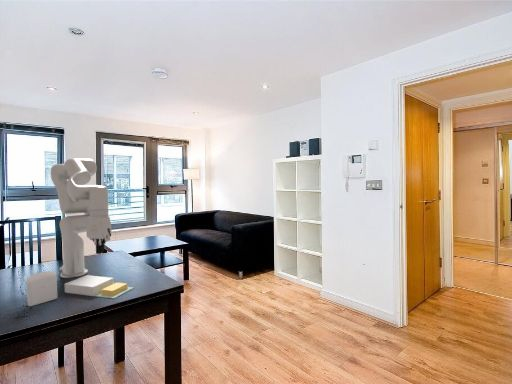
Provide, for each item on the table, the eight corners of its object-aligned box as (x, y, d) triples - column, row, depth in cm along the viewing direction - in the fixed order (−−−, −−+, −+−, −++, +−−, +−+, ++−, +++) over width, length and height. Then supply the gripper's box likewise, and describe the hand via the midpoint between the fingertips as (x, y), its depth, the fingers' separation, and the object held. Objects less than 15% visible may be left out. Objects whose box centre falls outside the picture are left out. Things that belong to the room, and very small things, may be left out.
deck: (64, 292, 129) (64, 283, 129) (87, 283, 141) (86, 275, 140) (93, 296, 125) (93, 287, 124) (114, 286, 136) (113, 277, 136)
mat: (94, 296, 125) (93, 295, 125) (114, 286, 136) (114, 285, 136) (114, 298, 122) (114, 297, 122) (133, 288, 133) (133, 287, 133)
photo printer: (28, 307, 114) (27, 277, 114) (26, 304, 117) (24, 274, 116) (59, 299, 122) (57, 270, 121) (55, 296, 125) (54, 268, 124)
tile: (112, 290, 124) (112, 295, 124) (127, 283, 133) (127, 287, 133) (101, 289, 126) (101, 294, 126) (116, 282, 134) (116, 286, 134)
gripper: (78, 213, 128) (80, 254, 129) (106, 214, 124) (107, 256, 125) (92, 211, 135) (93, 249, 136) (118, 212, 131) (119, 252, 132)
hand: (100, 253), depth 131 cm, fingers closed
